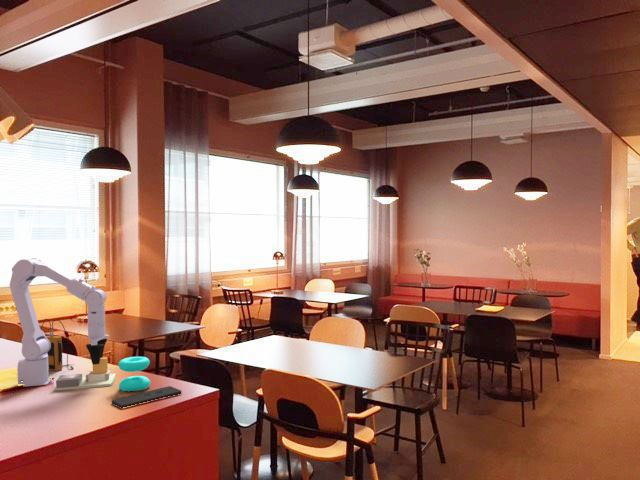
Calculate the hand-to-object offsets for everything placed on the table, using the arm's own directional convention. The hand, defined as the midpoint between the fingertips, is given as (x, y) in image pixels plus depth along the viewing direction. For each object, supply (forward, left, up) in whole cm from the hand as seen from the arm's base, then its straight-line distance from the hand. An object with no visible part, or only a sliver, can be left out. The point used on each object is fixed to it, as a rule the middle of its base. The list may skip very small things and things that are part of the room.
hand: (97, 361), depth 193 cm
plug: (+1, 0, -6) cm, 6 cm away
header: (0, 0, -7) cm, 7 cm away
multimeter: (-17, +25, -7) cm, 32 cm away
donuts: (+14, -15, -7) cm, 21 cm away
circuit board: (-3, -2, -7) cm, 8 cm away
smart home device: (+18, -28, -8) cm, 34 cm away
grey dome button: (-8, -5, -7) cm, 12 cm away
